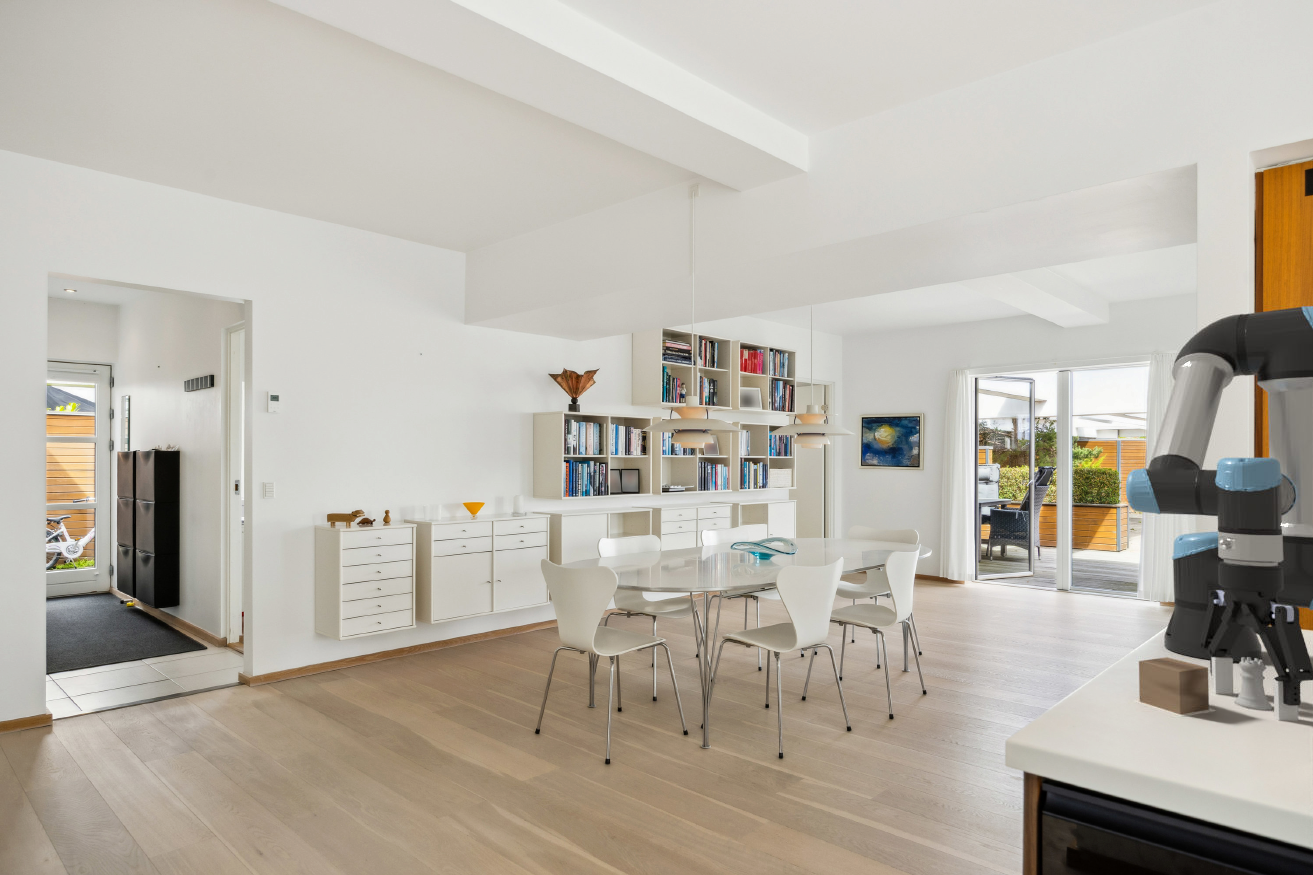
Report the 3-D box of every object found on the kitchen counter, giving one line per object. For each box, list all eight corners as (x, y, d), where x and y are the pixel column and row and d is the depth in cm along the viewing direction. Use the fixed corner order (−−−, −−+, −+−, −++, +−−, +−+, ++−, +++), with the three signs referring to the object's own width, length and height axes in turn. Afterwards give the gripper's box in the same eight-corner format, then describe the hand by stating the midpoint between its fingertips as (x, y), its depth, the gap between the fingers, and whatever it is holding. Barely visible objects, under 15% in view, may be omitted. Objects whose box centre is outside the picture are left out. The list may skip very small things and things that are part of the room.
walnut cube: (1167, 697, 114) (1167, 657, 114) (1209, 709, 108) (1208, 667, 108) (1139, 701, 112) (1138, 660, 112) (1180, 714, 106) (1179, 671, 106)
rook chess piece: (1275, 721, 107) (1274, 665, 107) (1236, 716, 109) (1234, 660, 109) (1270, 712, 111) (1269, 658, 111) (1232, 707, 113) (1231, 653, 113)
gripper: (1169, 552, 122) (1172, 688, 122) (1292, 574, 99) (1296, 742, 98) (1215, 552, 122) (1218, 688, 122) (1348, 574, 99) (1353, 742, 98)
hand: (1253, 712), depth 110 cm, fingers open, 11 cm apart
